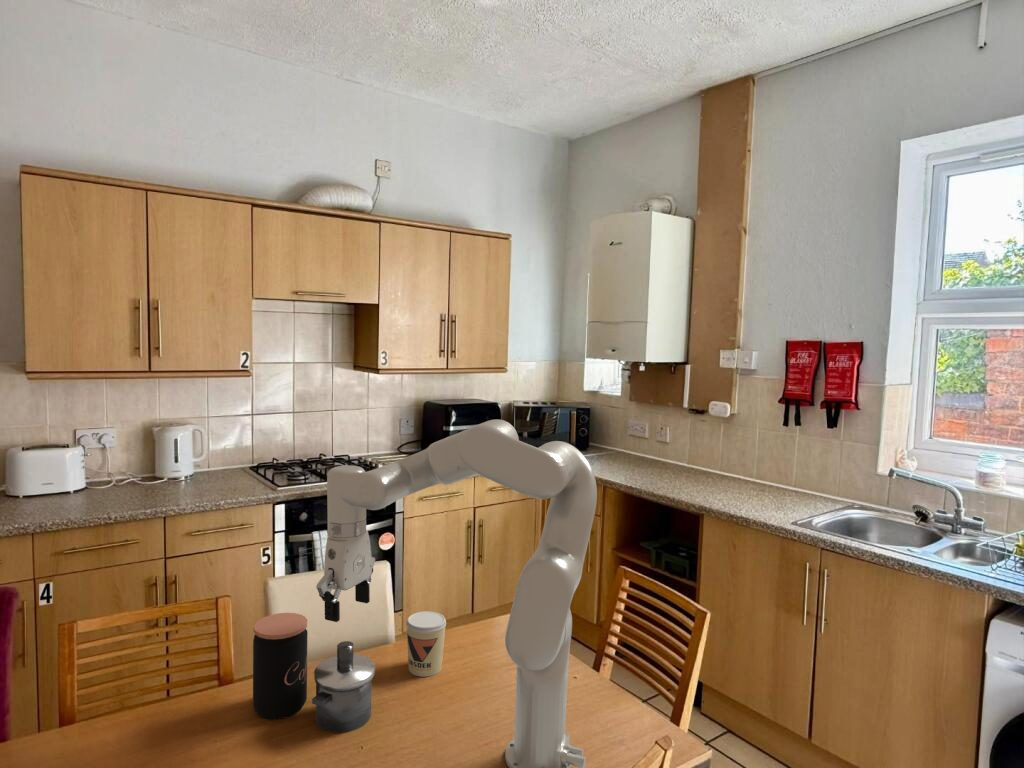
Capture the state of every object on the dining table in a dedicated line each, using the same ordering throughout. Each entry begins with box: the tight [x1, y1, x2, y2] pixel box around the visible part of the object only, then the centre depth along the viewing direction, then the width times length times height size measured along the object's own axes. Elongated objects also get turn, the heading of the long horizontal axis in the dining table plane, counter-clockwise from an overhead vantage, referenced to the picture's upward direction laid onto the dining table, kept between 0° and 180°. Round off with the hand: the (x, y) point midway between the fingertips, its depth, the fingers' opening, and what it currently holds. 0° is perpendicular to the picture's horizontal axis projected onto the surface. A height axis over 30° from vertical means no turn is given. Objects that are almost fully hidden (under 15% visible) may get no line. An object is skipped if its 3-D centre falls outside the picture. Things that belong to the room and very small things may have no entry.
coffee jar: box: [252, 612, 308, 721], centre depth 134 cm, size 11×11×18 cm
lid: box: [313, 640, 376, 690], centre depth 131 cm, size 12×12×6 cm
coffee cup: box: [405, 610, 447, 678], centre depth 151 cm, size 9×9×12 cm
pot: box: [311, 678, 373, 734], centre depth 131 cm, size 12×17×9 cm
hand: (347, 610), depth 130 cm, fingers open, 9 cm apart
